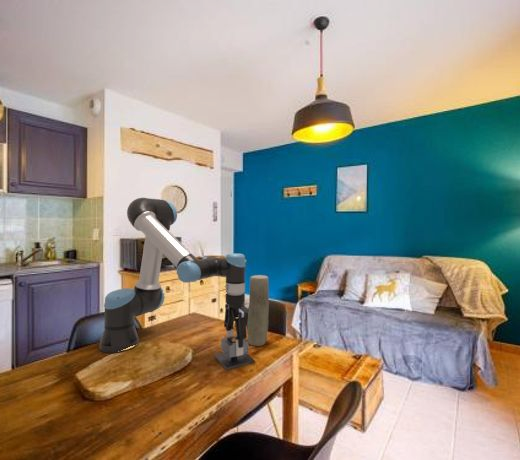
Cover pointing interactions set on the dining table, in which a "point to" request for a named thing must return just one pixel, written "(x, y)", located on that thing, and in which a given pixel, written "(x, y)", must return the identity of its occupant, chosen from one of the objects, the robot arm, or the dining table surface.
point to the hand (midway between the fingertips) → (234, 350)
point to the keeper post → (233, 359)
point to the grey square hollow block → (232, 346)
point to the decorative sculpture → (257, 310)
